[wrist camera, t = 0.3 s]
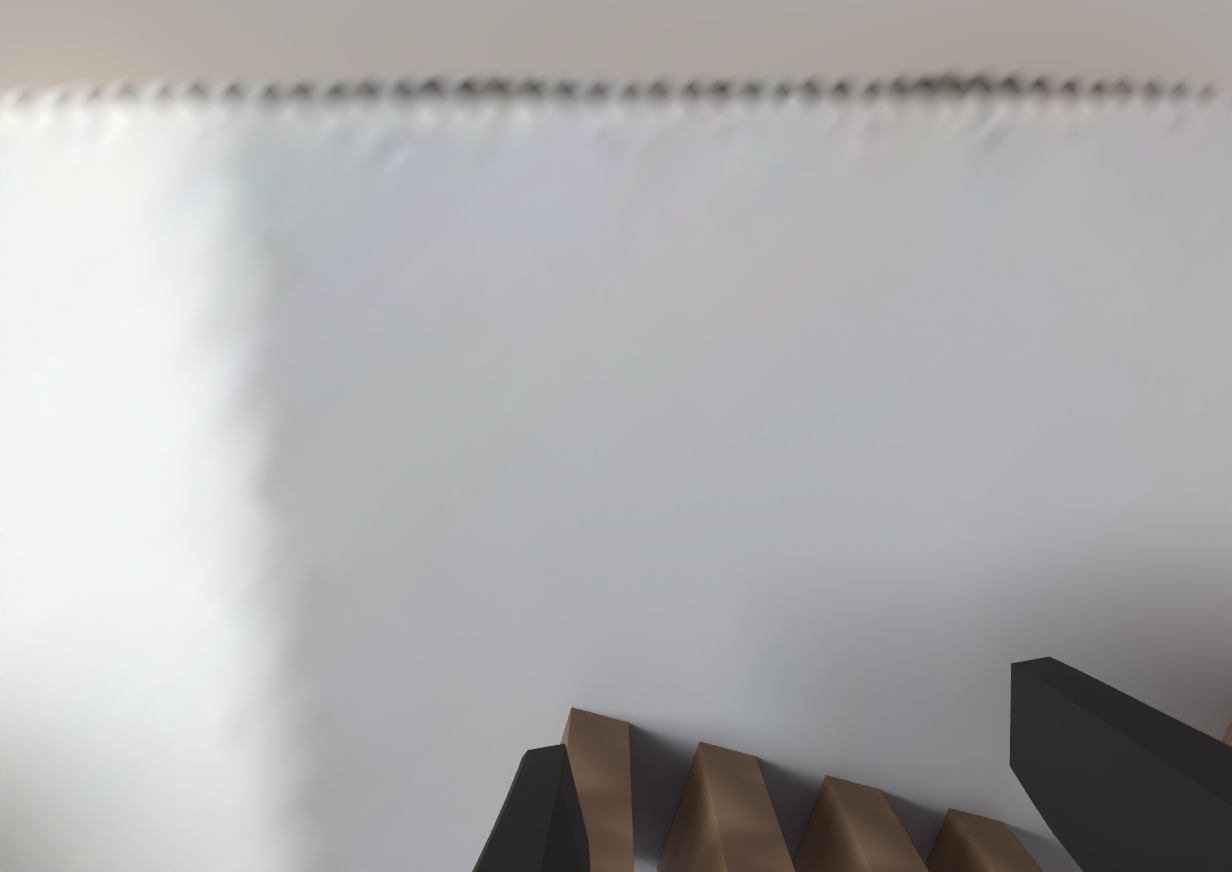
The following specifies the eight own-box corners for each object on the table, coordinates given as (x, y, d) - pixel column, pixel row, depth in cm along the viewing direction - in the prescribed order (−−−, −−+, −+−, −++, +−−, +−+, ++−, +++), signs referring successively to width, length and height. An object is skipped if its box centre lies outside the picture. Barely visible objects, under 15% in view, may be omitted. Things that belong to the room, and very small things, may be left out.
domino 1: (628, 722, 21) (635, 906, 14) (588, 849, 22) (576, 1083, 15) (571, 707, 21) (550, 885, 14) (532, 835, 22) (495, 1063, 15)
